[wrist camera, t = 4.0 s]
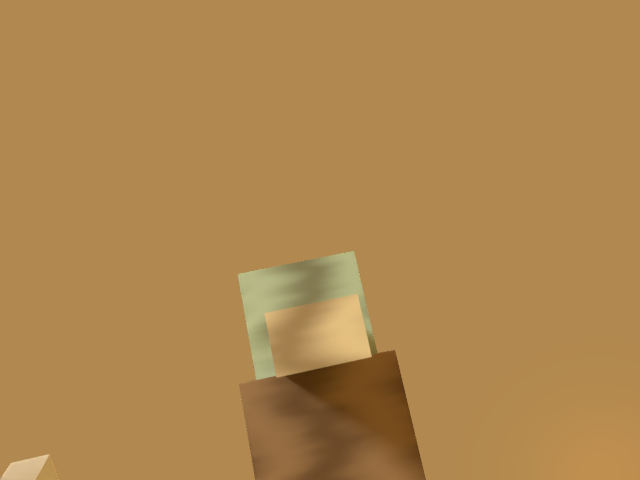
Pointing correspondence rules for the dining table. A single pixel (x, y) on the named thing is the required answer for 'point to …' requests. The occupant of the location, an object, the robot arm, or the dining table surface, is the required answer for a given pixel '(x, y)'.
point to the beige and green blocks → (306, 315)
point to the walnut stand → (333, 423)
